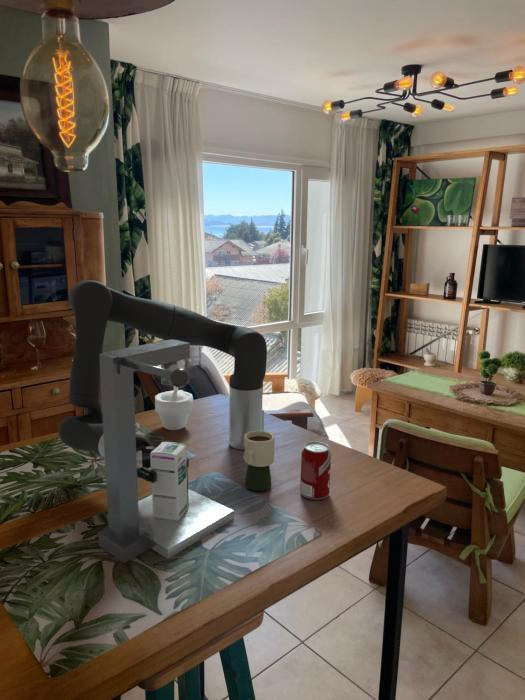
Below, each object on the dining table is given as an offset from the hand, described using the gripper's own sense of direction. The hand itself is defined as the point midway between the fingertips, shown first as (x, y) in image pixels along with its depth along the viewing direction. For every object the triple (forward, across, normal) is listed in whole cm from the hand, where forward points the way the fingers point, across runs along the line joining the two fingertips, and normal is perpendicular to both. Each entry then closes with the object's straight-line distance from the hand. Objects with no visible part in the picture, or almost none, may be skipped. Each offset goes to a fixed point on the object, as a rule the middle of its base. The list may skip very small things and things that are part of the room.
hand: (172, 470), depth 105 cm
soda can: (+16, +29, +12) cm, 35 cm away
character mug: (+4, +23, +12) cm, 26 cm away
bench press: (+4, -3, +12) cm, 13 cm away
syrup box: (0, 0, +10) cm, 10 cm away
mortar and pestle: (-40, +35, +12) cm, 54 cm away
